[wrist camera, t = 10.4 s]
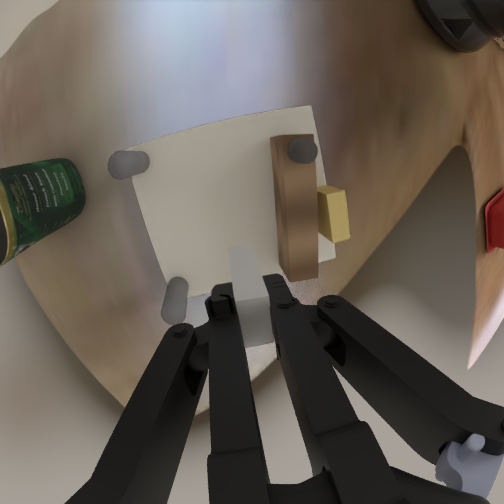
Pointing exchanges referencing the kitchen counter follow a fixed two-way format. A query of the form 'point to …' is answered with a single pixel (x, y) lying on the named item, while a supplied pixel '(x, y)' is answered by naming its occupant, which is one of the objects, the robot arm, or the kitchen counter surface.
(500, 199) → the butter dish
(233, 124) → the white board with blocks
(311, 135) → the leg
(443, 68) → the kitchen counter surface
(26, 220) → the coffee jar
